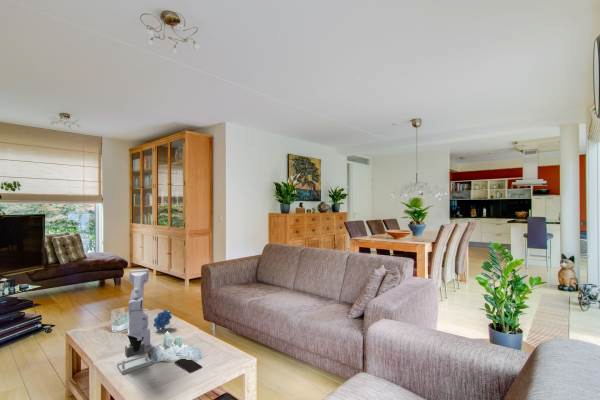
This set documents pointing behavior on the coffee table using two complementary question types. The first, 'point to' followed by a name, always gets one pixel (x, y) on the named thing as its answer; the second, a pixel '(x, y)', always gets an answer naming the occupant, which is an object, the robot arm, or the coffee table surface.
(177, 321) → the coffee table surface
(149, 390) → the coffee table surface
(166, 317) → the grapes
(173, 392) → the coffee table surface
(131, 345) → the drive
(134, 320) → the robot arm
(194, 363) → the smartphone
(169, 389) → the coffee table surface
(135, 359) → the tray
